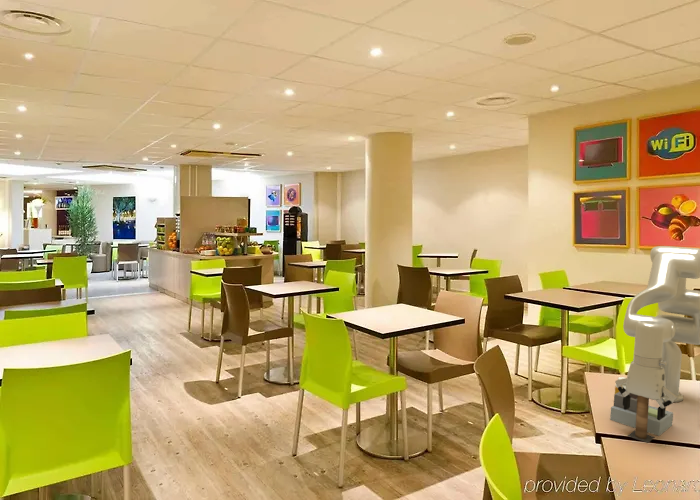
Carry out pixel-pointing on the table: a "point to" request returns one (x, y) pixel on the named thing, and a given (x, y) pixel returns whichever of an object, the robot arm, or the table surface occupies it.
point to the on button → (652, 412)
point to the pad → (640, 438)
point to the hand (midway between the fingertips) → (642, 413)
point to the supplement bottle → (622, 385)
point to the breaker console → (629, 415)
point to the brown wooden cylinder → (641, 417)
